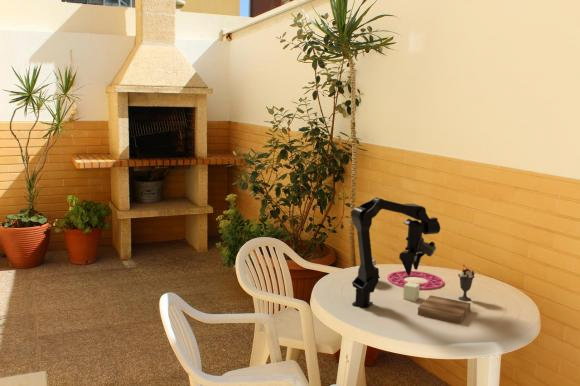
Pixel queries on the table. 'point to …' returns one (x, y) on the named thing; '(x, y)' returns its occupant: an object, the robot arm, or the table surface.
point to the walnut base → (444, 309)
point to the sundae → (466, 282)
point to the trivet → (415, 274)
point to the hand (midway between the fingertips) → (412, 272)
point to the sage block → (411, 291)
